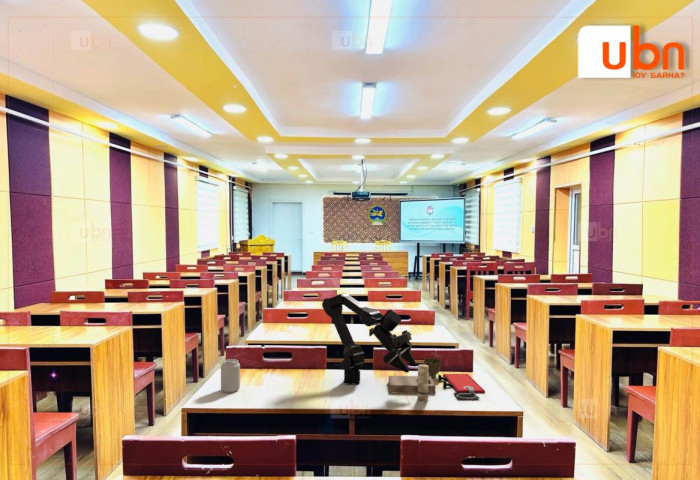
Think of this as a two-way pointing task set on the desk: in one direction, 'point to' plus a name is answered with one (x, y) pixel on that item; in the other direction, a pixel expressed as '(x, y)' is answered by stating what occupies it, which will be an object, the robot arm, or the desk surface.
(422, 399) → the birch dowel
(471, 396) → the red board with handle
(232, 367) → the can
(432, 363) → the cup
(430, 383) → the walnut board
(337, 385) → the desk surface
